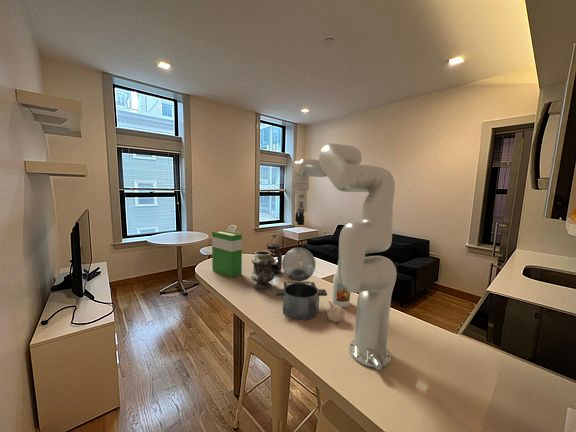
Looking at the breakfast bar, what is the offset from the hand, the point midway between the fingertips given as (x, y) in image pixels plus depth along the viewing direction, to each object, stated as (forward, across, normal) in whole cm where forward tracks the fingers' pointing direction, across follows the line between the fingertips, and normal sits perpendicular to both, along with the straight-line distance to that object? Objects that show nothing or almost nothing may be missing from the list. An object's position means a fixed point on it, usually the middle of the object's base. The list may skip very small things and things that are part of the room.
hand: (299, 223), depth 117 cm
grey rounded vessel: (+35, +6, +18) cm, 39 cm away
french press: (+35, +27, +12) cm, 45 cm away
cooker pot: (+34, -19, 0) cm, 39 cm away
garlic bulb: (+35, -27, -13) cm, 46 cm away
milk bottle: (+35, -13, -19) cm, 41 cm away
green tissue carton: (+35, +26, +40) cm, 59 cm away
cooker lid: (+18, -9, 0) cm, 20 cm away
